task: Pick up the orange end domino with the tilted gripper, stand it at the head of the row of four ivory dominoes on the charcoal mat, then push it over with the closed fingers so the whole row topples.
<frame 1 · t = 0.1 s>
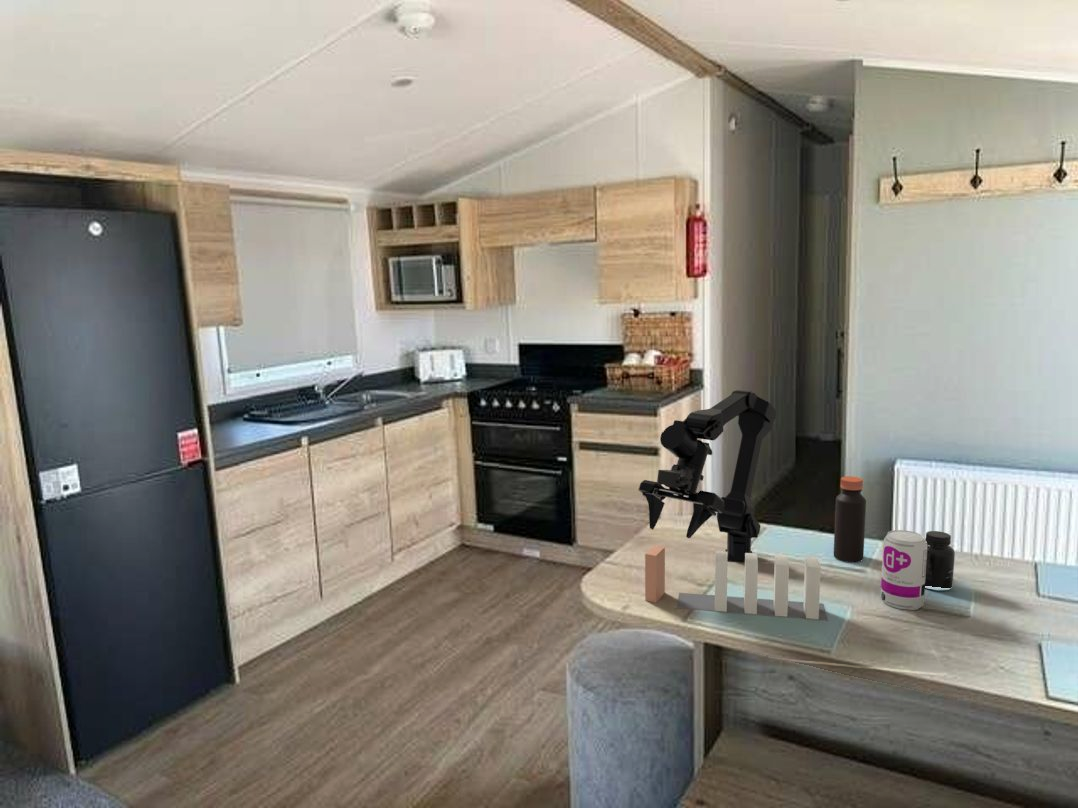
hand: (669, 533, 161), 15 cm above the table, tool tilted 35°, fingers open, 9 cm apart
supplement bottle: (934, 586, 166), on the table
mat: (750, 607, 158), on the table
domino 5: (810, 612, 154), resting on mat
domino 4: (780, 610, 155), resting on mat
orange end domino: (655, 598, 163), on the table
supplement can: (901, 604, 158), on the table
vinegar: (848, 558, 183), on the table
domino 2: (720, 605, 158), resting on mat
domino 3: (750, 607, 156), resting on mat
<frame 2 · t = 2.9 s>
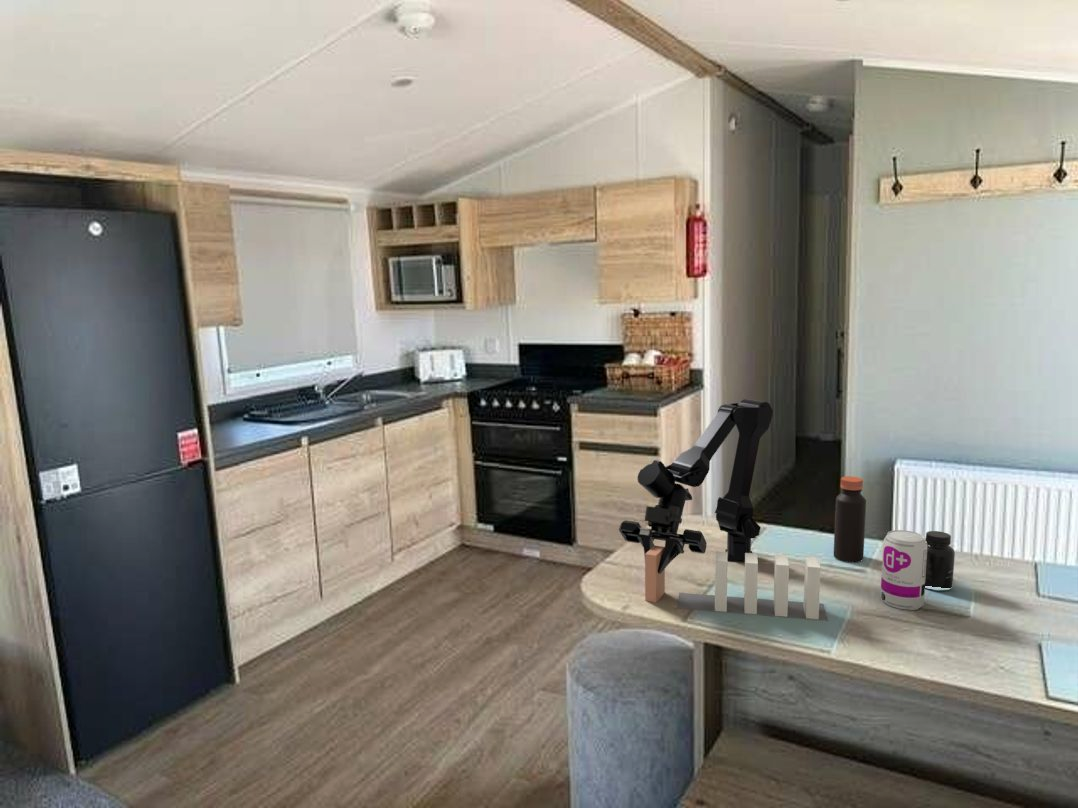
hand: (652, 571, 161), 7 cm above the table, tool tilted 45°, fingers closed on orange end domino, 2 cm apart
orange end domino: (655, 598, 163), on the table, touching gripper
everything else where it was.
when the fingers open (8 cm above the table, at t = 6.6 s): orange end domino stays where it is, resting on mat.
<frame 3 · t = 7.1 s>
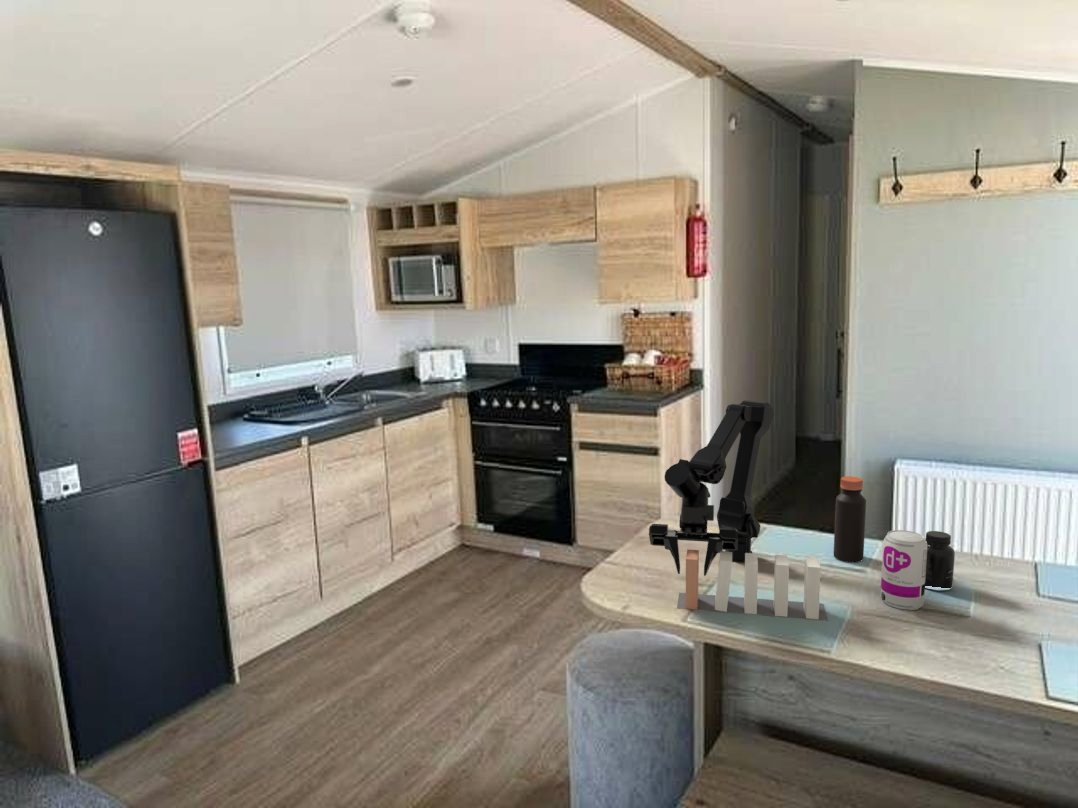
hand: (691, 574, 157), 8 cm above the table, tool tilted 45°, fingers open, 5 cm apart
orange end domino: (691, 603, 159), resting on mat
domino 2: (720, 605, 158), point 1 cm above the table, touching gripper, mat
everything else where it was.
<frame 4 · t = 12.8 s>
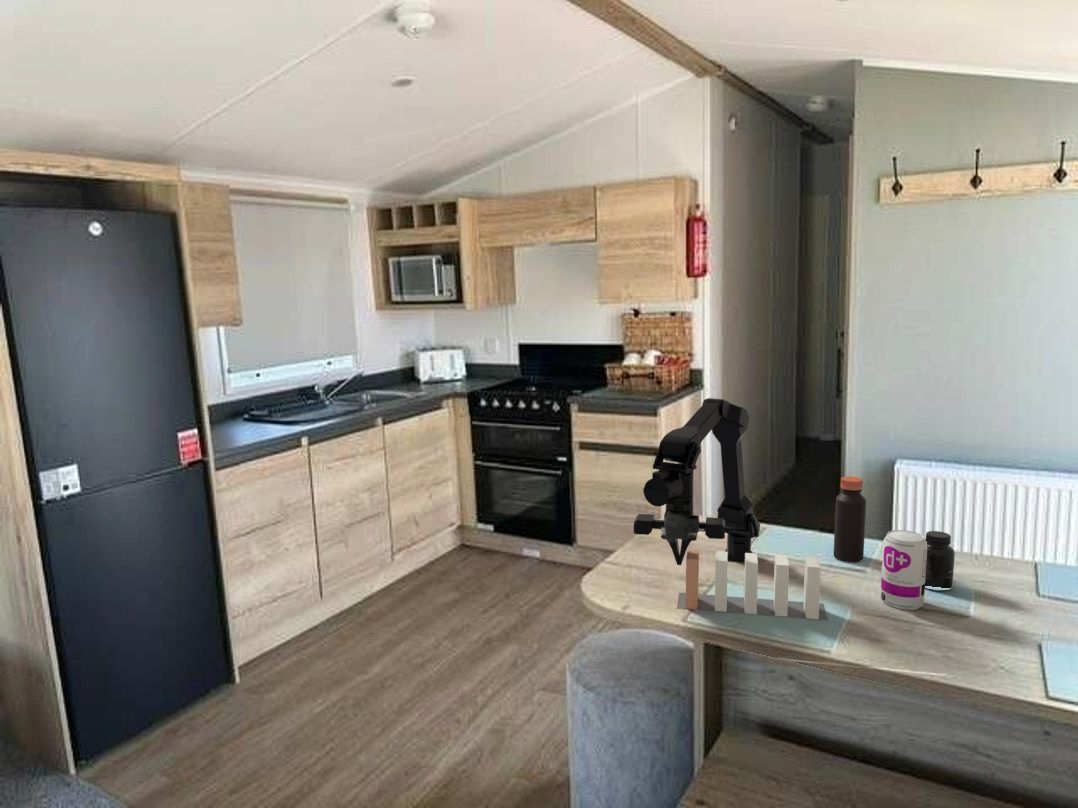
hand: (679, 564, 159), 9 cm above the table, tool pointing down, fingers closed
orange end domino: (691, 603, 159), resting on mat, touching gripper
domino 2: (720, 605, 158), resting on mat
everything else where it was.
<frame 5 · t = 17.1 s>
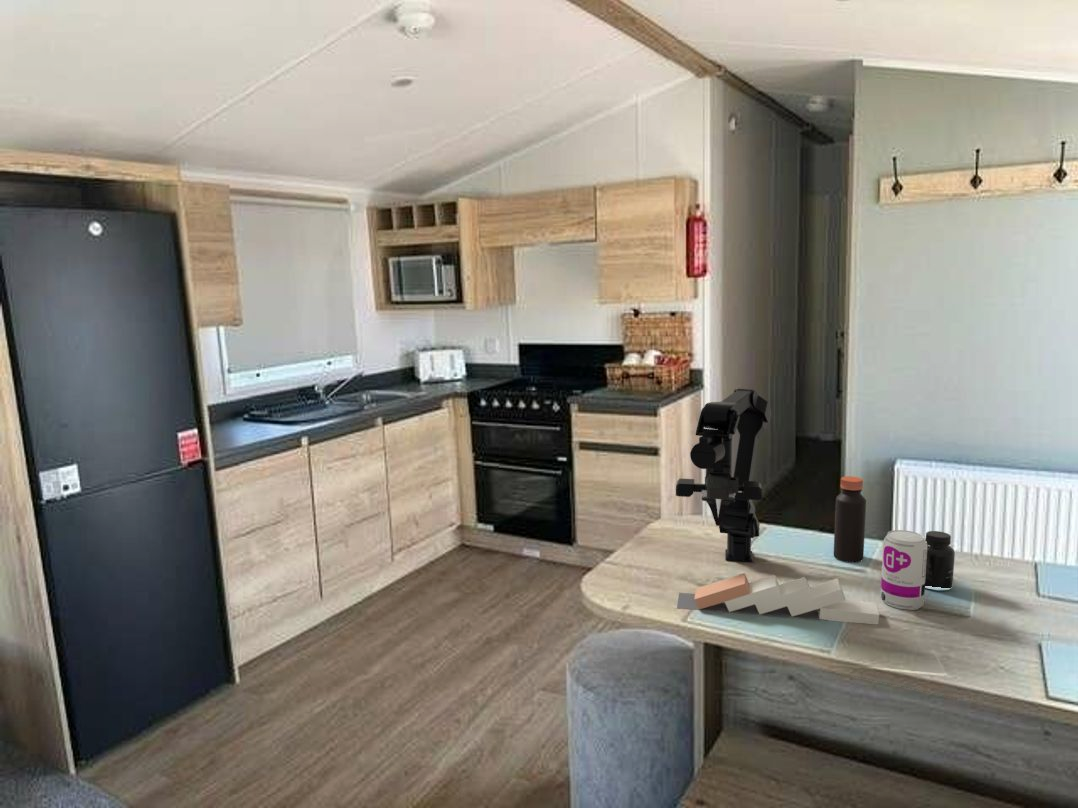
hand: (717, 525, 170), 13 cm above the table, tool pointing down, fingers closed
domino 5: (818, 607, 153), point 2 cm above the table, tilted 92°, touching domino 4, mat
domino 4: (788, 605, 154), point 2 cm above the table, tilted 66°, touching domino 3, domino 5
orange end domino: (697, 598, 159), point 2 cm above the table, tilted 67°, touching domino 2, mat
domino 2: (727, 601, 157), point 2 cm above the table, tilted 67°, touching domino 3, mat, orange end domino
domino 3: (756, 603, 156), point 1 cm above the table, tilted 66°, touching domino 2, domino 4, mat
everything else where it was.
at the end: domino 5 tilted 92°; domino 3 tilted 66° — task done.
